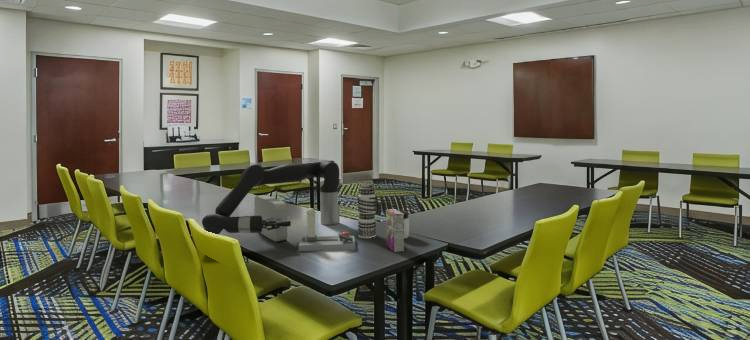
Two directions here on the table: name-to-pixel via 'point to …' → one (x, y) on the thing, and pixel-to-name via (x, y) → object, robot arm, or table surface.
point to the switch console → (326, 244)
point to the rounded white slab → (272, 215)
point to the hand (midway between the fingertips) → (290, 223)
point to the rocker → (345, 237)
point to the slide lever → (311, 225)
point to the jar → (405, 223)
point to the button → (346, 233)
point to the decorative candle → (366, 211)
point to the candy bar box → (395, 230)
